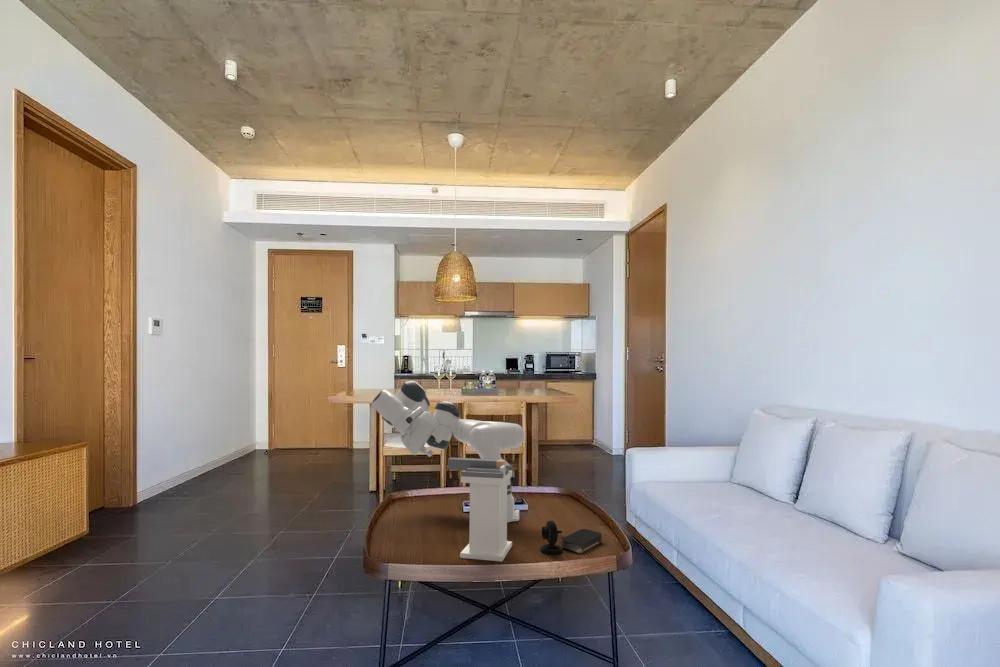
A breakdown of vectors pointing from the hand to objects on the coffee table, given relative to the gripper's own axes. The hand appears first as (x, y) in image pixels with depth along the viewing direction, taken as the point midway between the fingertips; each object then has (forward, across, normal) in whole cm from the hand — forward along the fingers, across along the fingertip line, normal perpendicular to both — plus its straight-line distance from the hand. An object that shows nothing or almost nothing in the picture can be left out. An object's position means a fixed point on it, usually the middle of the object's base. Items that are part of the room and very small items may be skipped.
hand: (436, 448), depth 192 cm
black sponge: (+62, +6, +5) cm, 62 cm away
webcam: (+53, +6, -5) cm, 54 cm away
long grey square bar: (+16, +8, -2) cm, 18 cm away
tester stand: (+37, -3, -16) cm, 40 cm away
